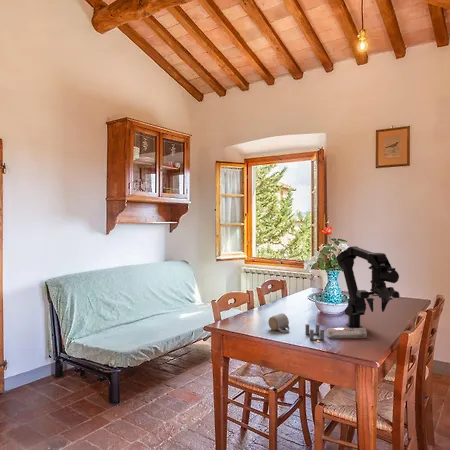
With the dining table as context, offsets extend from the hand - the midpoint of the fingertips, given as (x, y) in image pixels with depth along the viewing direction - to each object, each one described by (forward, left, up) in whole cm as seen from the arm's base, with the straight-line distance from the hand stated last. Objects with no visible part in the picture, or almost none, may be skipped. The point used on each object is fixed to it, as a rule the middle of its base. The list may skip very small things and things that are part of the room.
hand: (377, 311), depth 179 cm
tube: (0, -15, -12) cm, 19 cm away
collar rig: (0, -30, -12) cm, 33 cm away
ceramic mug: (-12, -45, -12) cm, 48 cm away
